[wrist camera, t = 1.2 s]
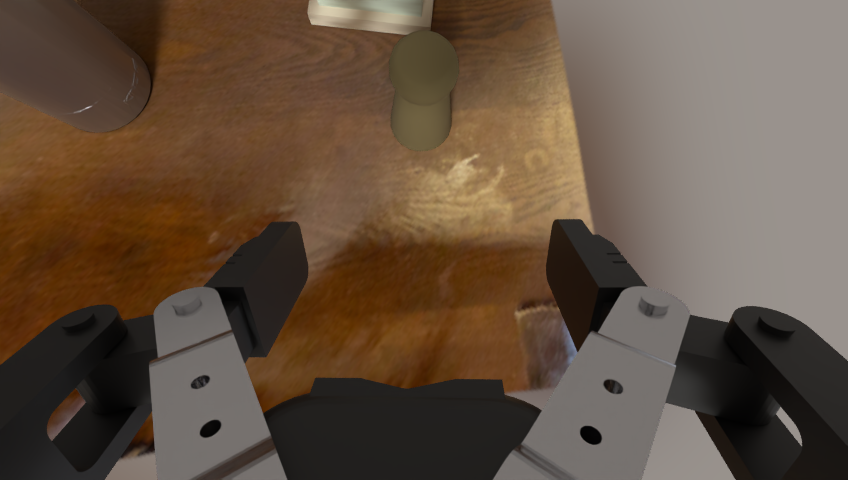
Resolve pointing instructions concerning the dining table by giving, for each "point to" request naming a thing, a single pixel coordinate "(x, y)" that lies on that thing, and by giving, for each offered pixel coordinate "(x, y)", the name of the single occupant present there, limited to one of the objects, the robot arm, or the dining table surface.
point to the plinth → (373, 14)
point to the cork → (422, 89)
